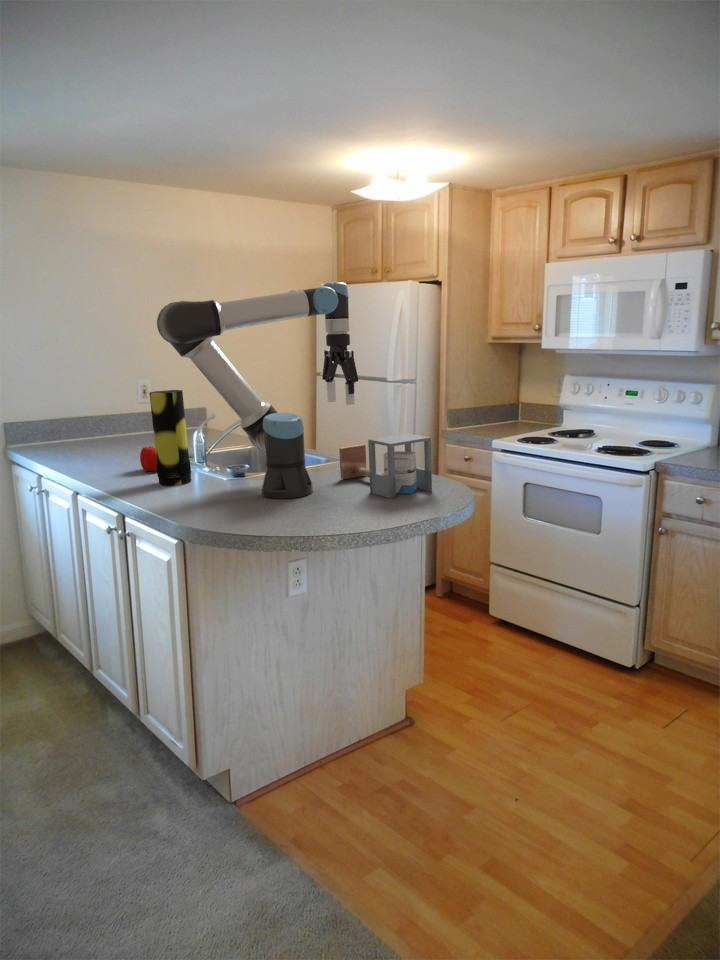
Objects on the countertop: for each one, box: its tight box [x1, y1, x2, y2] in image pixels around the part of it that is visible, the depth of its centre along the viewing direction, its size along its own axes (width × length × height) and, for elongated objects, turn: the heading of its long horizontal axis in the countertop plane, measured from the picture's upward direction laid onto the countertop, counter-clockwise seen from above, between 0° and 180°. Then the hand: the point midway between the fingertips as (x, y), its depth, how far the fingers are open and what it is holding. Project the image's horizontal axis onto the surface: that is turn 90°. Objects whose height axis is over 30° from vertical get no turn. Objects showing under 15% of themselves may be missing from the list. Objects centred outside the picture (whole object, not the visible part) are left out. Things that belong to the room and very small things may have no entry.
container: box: [149, 389, 192, 487], centre depth 229 cm, size 11×11×30 cm
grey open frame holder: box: [367, 433, 433, 500], centre depth 206 cm, size 11×14×16 cm
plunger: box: [338, 443, 384, 480], centre depth 220 cm, size 20×9×10 cm, turn 34°
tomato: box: [139, 446, 157, 473], centre depth 252 cm, size 11×12×9 cm
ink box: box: [383, 450, 418, 495], centre depth 206 cm, size 8×5×12 cm, turn 65°
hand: (340, 403), depth 227 cm, fingers open, 10 cm apart
